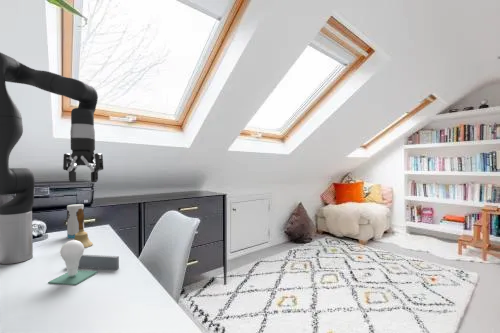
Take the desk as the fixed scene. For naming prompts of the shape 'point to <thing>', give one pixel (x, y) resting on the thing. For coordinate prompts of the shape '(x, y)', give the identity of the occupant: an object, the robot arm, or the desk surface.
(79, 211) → the hand bell
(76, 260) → the lightbulb
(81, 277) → the pad
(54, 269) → the desk surface
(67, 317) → the desk surface
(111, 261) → the wall
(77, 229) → the cup
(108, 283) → the desk surface
